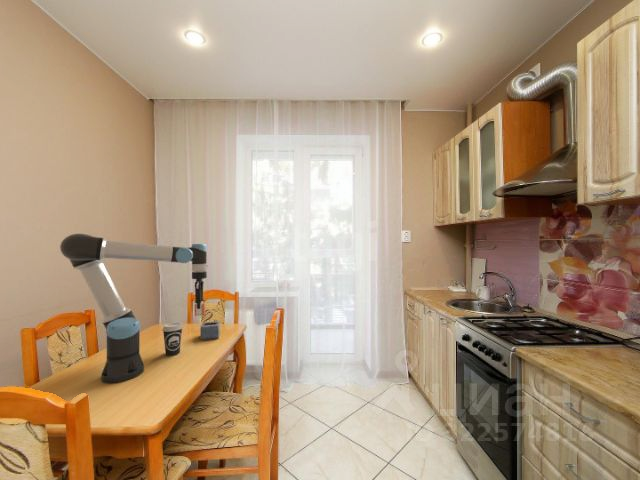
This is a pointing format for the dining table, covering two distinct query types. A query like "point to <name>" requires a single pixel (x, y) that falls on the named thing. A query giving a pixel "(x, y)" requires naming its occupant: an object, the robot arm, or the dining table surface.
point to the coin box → (210, 330)
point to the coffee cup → (172, 338)
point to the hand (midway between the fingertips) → (199, 313)
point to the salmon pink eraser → (202, 309)
